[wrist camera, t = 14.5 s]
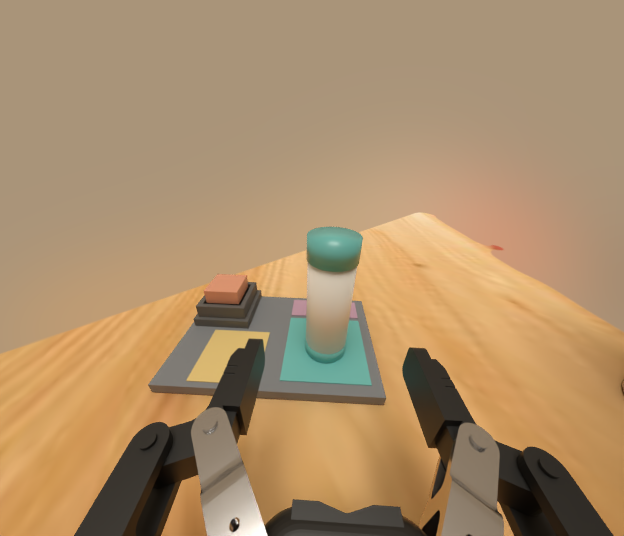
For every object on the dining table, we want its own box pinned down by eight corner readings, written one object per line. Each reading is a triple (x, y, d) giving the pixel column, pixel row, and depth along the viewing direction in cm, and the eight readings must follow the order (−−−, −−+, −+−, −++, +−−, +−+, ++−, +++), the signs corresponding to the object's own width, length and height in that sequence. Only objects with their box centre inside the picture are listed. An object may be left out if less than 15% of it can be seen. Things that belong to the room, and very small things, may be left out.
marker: (343, 332, 24) (358, 228, 19) (347, 365, 21) (367, 247, 15) (305, 330, 24) (308, 225, 19) (303, 362, 21) (305, 244, 15)
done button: (248, 286, 28) (246, 275, 27) (238, 304, 24) (236, 292, 24) (219, 285, 28) (217, 274, 27) (206, 302, 25) (203, 290, 24)
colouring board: (360, 307, 30) (363, 285, 28) (383, 405, 19) (392, 379, 17) (215, 300, 30) (210, 278, 29) (151, 391, 19) (137, 365, 17)
